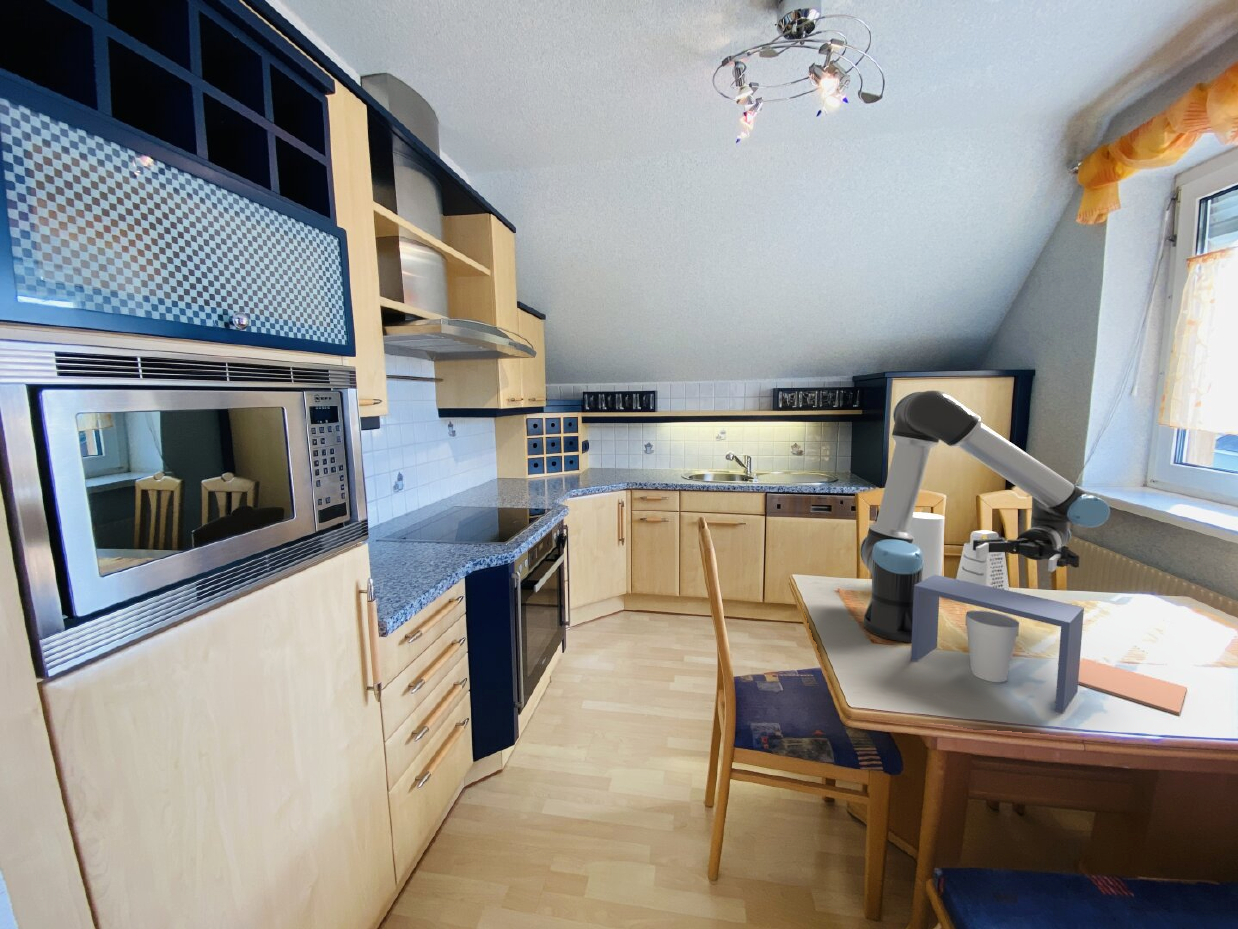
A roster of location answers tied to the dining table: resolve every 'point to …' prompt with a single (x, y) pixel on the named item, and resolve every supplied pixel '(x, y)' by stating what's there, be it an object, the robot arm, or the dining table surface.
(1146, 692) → the mat
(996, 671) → the foam cup
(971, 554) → the grater
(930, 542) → the tall pillar cylinder
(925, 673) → the dining table surface
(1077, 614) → the rectangular arch
